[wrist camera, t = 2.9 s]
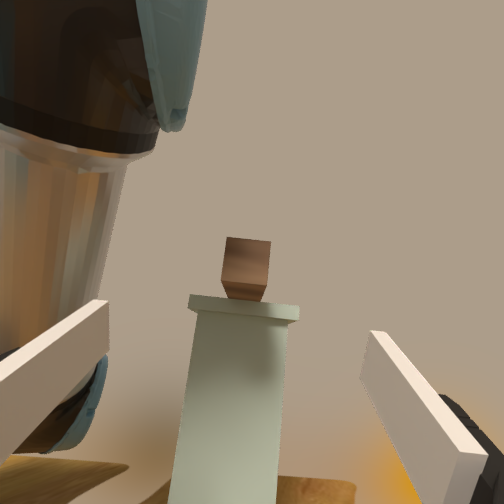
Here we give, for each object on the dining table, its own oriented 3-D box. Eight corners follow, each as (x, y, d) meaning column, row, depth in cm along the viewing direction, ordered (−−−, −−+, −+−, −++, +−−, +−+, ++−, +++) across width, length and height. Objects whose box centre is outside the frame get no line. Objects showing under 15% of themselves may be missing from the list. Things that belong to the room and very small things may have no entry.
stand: (292, 711, 21) (310, 306, 30) (106, 688, 21) (178, 291, 30) (274, 567, 35) (290, 316, 43) (159, 554, 35) (199, 306, 44)
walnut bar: (266, 285, 22) (270, 241, 23) (220, 280, 22) (226, 236, 23) (255, 314, 46) (257, 292, 47) (233, 311, 46) (236, 290, 47)
